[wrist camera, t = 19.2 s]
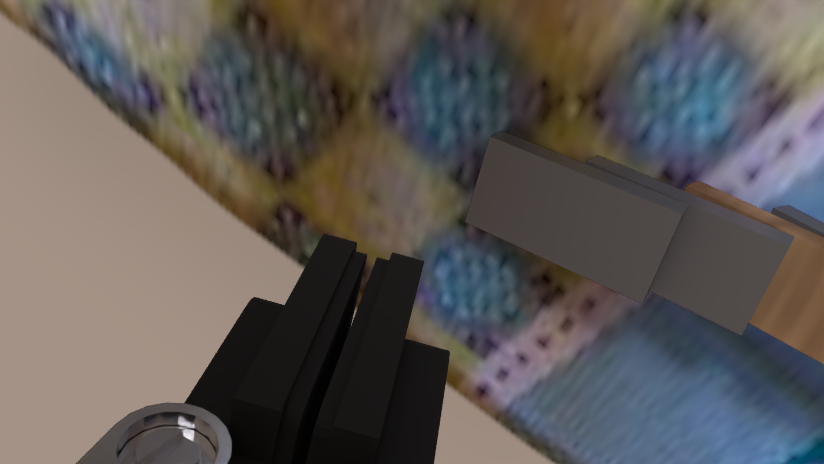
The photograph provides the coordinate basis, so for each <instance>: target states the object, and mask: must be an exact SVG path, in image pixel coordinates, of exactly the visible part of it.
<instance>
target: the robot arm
mask: <svg viewBox="0 0 824 464" xmlns="http://www.w3.org/2000/svg"><path fill="white" fill-rule="evenodd" d="M356 248H357V242H353V241H349V240H346V239H342V238H338V237H335V236H331V235H328V234H324V235H323V236H322V238H321V240H320V241H319V243H318V245H317V247H316V249H315V251H314V252H313V254H312V256H311V258H310V260H309V262H308V263H307V265H306V267H305V269H304V271H303V272H302V274H301V277H300V278H299V280H298V282H297V284H296V285H295V287H294V289H293V291H292V293H291V294H290V296H289V298H288V300H287V302H286V304H285V305H282V304H278V303H275V302H271V301H267V300H263V299H260V298H256V297H254V298H252V299H251V300H250V302H249V303H248V304H247V306H246V307H245V309H244V310H243V312H242V313H241V315H240V317H239V318H238V320H237V321H236V323H235V324H234V326H233V328H232V329H231V331H230V332H229V334H228V335H227V337H226V339H225V340H224V342H223V343H222V345H221V346H220V348H219V350H218V351H217V353H216V354H215V356H214V357H213V359H212V361H211V362H210V364H209V365H208V367H207V369H206V370H205V372H204V373H203V375H202V377H201V378H200V379H199V381H198V383H197V384H196V386H195V387H194V389H193V390H192V392H191V394H190V395H189V397H188V398H187V400H186V401H185V403H161V404H156V405H150V406H146V407H144V408H141V409H139V410H136V411H134V412H132V413H129V414H128V415H127V416H126V417H124V418H123V419H122V420H120V421H119V422H118V423H116V424H115V425H114V426H113V427H112V428H111V429H110V430H109V431H108V432H107V433H106V434H105V435H104V436H103V437H102V438H101V439H100V440H99V441H98V442H97V443H96V444H95V445H94V446H93V447H92V448H91V449H90V450H89V451H88V452H87V453H86V454H85V455H84V456H83V457H82V458H81V459H80V460H79V461H78V462H77V463H76V464H434V459H435V451H436V445H437V438H438V431H439V425H440V417H441V411H442V404H443V398H444V390H445V384H446V377H447V371H448V364H449V356H450V352H449V351H448V350H444V349H440V348H437V347H433V346H430V345H426V344H422V343H419V342H415V341H412V340H408V339H405V336H406V332H407V328H408V324H409V320H410V316H411V312H412V308H413V304H414V300H415V296H416V292H417V288H418V284H419V280H420V276H421V272H422V268H423V264H424V261H422V260H418V259H415V258H411V257H407V256H404V255H400V254H396V253H393V252H392V254H391V257H390V260H385V259H381V258H378V257H377V259H376V261H375V264H374V267H373V269H372V272H371V275H370V277H369V280H368V283H367V285H366V288H365V291H364V293H363V296H362V299H361V301H360V304H359V306H358V309H357V312H356V314H355V317H354V320H353V323H352V319H353V315H354V310H355V306H356V302H357V298H358V293H359V289H360V285H361V281H362V276H363V272H364V268H365V264H366V259H367V254H363V253H360V252H356ZM351 323H352V325H351ZM350 327H351V328H350Z"/></svg>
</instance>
